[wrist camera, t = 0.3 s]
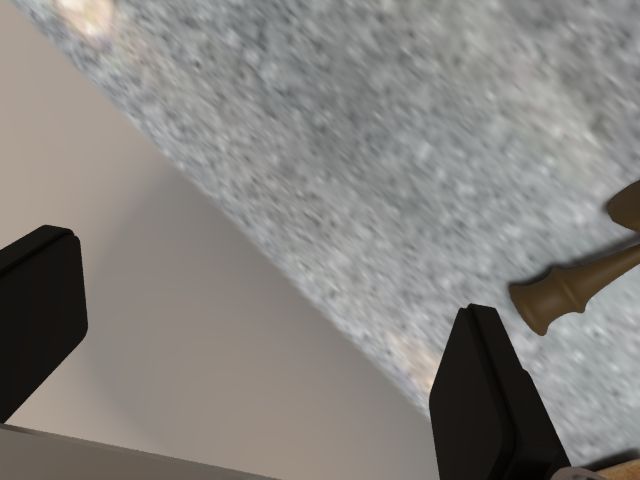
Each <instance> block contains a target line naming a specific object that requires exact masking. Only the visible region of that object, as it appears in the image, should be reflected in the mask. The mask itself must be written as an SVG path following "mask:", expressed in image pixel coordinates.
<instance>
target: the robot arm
mask: <svg viewBox="0 0 640 480" xmlns="http://www.w3.org/2000/svg"><path fill="white" fill-rule="evenodd" d="M84 289H85V288H84V277H83V267H82V256H81V246H80V240H79V238H78V237H77V236H74V233H73V231H72V230H70V229H67V228H62V227H56V226H51V225H43V226H41V227H39V228H37V229H36V230H34V231H32V232H31V233H29V234H27V235H25V236H24V237H22V238H20V239H19V240H17V241H15V242H13V243H12V244H10V245H8V246H6V247H5V248H3V249H1V250H0V480H281V479H276V478H271V477H266V476H261V475H257V474H252V473H247V472H242V471H237V470H233V469H227V468H223V467H218V466H213V465H208V464H203V463H198V462H193V461H188V460H183V459H178V458H174V457H169V456H164V455H159V454H153V453H148V452H144V451H139V450H134V449H129V448H124V447H119V446H114V445H109V444H104V443H99V442H94V441H89V440H84V439H79V438H74V437H69V436H63V435H59V434H54V433H48V432H43V431H38V430H33V429H27V428H23V427H18V426H12V425H7V424H4V423H5V422H6V421H7V420H8V419H9V418H10V417H11V416H12V414H13V413H14V412H15V411H16V410H17V409H18V408H19V407H20V406H21V405H22V404H23V403H24V402H25V401H26V400H27V398H28V397H29V396H30V395H31V394H32V393H33V392H34V391H35V390H36V389H37V388H38V387H39V386H40V385H41V384H42V383H43V382H44V380H45V379H46V378H47V377H48V376H49V375H50V374H51V373H52V372H53V371H54V370H55V369H56V368H57V367H58V366H59V365H60V364H61V362H62V361H63V360H64V359H65V358H66V357H67V356H68V355H69V354H70V353H71V352H72V351H73V350H74V349H75V348H76V347H77V346H78V344H79V343H80V342H81V341H82V340H83V339H84V337H85V336H86V333H87V330H88V320H87V310H86V299H85V290H84ZM429 409H430V416H431V423H432V430H433V436H434V443H435V450H436V457H437V463H438V470H439V476H440V480H608V479H606V478H604V477H602V476H601V475H599V474H597V473H595V472H592V471H589V470H587V469H584V468H578V467H572V466H571V464H570V461H569V459H568V457H567V455H566V453H565V450H564V448H563V446H562V444H561V442H560V439H559V437H558V435H557V433H556V431H555V429H554V426H553V424H552V422H551V420H550V418H549V415H548V413H547V411H546V409H545V407H544V404H543V402H542V400H541V398H540V396H539V393H538V391H537V389H536V387H535V385H534V383H533V380H532V378H531V376H530V375H529V373H528V372H527V371H526V370H524V369H523V368H522V366H521V364H520V362H519V359H518V357H517V355H516V352H515V350H514V348H513V346H512V343H511V341H510V339H509V337H508V334H507V332H506V330H505V328H504V325H503V323H502V321H501V319H500V316H499V314H498V312H497V310H496V309H495V308H493V307H488V306H482V305H477V304H472V303H471V304H469V305H468V307H467V308H460V309H459V311H458V313H457V316H456V319H455V322H454V325H453V328H452V330H451V333H450V336H449V339H448V342H447V345H446V348H445V351H444V354H443V357H442V360H441V363H440V366H439V368H438V371H437V374H436V377H435V380H434V383H433V386H432V389H431V392H430V397H429Z"/></svg>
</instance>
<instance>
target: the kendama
mask: <svg viewBox="0 0 640 480" xmlns="http://www.w3.org/2000/svg"><path fill="white" fill-rule="evenodd" d="M608 214H609V215H610V217H611V219H612V220H613V221H614V222H616V223H618V224H620V225H621V226H623V227H625V228H628V229H631V230H634V231H638V232H640V181H638V182H636V183H634V184H632V185H630V186H629V187H627V188H626V189H624V190H623V191H621V192H620V193H619V194H617V195H616V196H615V197H614V199H613V200H612V201H611V202H610V203H609V207H608ZM638 264H640V244H637V245H635V246H633V247H630V248H628V249H625V250H623V251H621V252H618V253H615V254H613V255H610V256H608V257H605V258H602V259H599V260H597V261H594V262H591V263H588V264H585V265H582V266H579V267H575V268H571V269H558V268H552V269H551V271H550V274H549V275H548V276H547V277H546V278H545V279H543V280H541V281H539V282H537V283H534V284H531V285H527V286H519V285H513V286H511V287H510V291H509V292H510V296H511V299H512V302H513V303H514V305H515V307H516V309H517V311H518V312H519V314H520V315H521V317H522V318H523V320H524V321H525V322H526V324H527V325H528V326H529V327H530V328H531V330H533V331H534V332H535V333H537V334H538V335H540V336H544V335H545V334H546V333H547V329H548V326H549V325H550V323H551V322H553V321H554V320H555V319H557V318H558V317H560V316H562V315H564V314H567V313H570V312H577V313H583V312H584V311H585V307H586V304H587V302H588V301H589V300H590V299H591V298H592V297H593V296H594V295H595V294H596V293H597V292H599V291H600V290H601V289H603V288H604V287H605V286H607V285H608V284H610V283H611V282H612V281H614V280H615V279H617V278H618V277H620V276H621V275H623V274H624V273H626V272H627V271H629V270H630V269H632V268H633V267H635V266H637V265H638Z"/></svg>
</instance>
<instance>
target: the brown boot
mask: <svg viewBox="0 0 640 480" xmlns="http://www.w3.org/2000/svg"><path fill="white" fill-rule="evenodd" d="M595 473H597V474H599V475H601V476H602V477H604V478H606V479H608V480H640V458H638V459H634V460H631V461H628V462H624V463H621V464H618V465H615V466H612V467H609V468H605V469H602V470H599V471H596V472H595Z"/></svg>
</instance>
